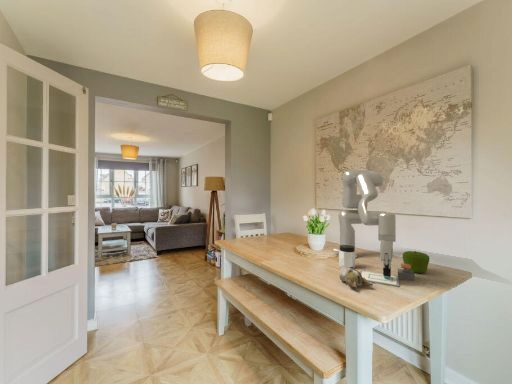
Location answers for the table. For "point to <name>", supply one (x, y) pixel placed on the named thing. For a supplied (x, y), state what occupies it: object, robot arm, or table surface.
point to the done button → (406, 267)
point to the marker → (390, 267)
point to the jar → (347, 256)
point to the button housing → (406, 274)
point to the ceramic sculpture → (352, 277)
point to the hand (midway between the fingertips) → (387, 274)
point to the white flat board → (380, 278)
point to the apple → (416, 261)
